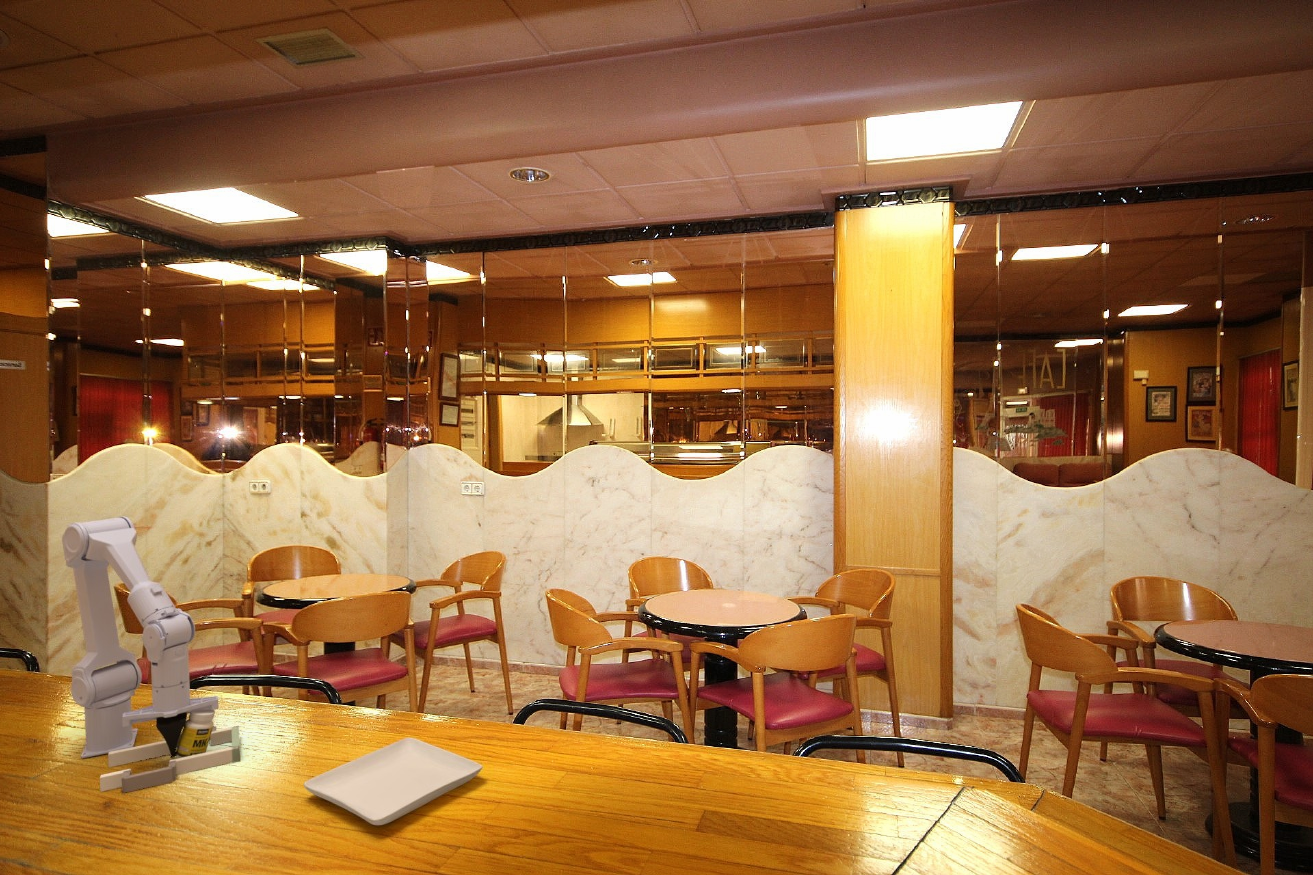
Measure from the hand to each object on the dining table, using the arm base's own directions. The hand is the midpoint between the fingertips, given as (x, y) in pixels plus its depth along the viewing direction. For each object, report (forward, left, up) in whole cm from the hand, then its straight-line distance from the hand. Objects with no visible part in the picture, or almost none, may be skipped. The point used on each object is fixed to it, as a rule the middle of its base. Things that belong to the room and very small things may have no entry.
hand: (173, 755), depth 134 cm
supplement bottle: (0, +2, -1) cm, 3 cm away
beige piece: (0, 0, -2) cm, 2 cm away
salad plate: (+32, +33, -2) cm, 46 cm away
